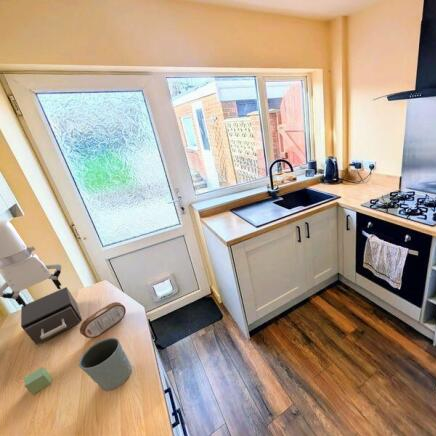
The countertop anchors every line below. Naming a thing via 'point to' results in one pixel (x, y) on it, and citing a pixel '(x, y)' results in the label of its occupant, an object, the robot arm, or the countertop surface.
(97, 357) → the grey green cup
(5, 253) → the robot arm
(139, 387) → the countertop surface
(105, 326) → the tin
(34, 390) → the cube
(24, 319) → the small drawer box
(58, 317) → the dark grey sliding drawer
